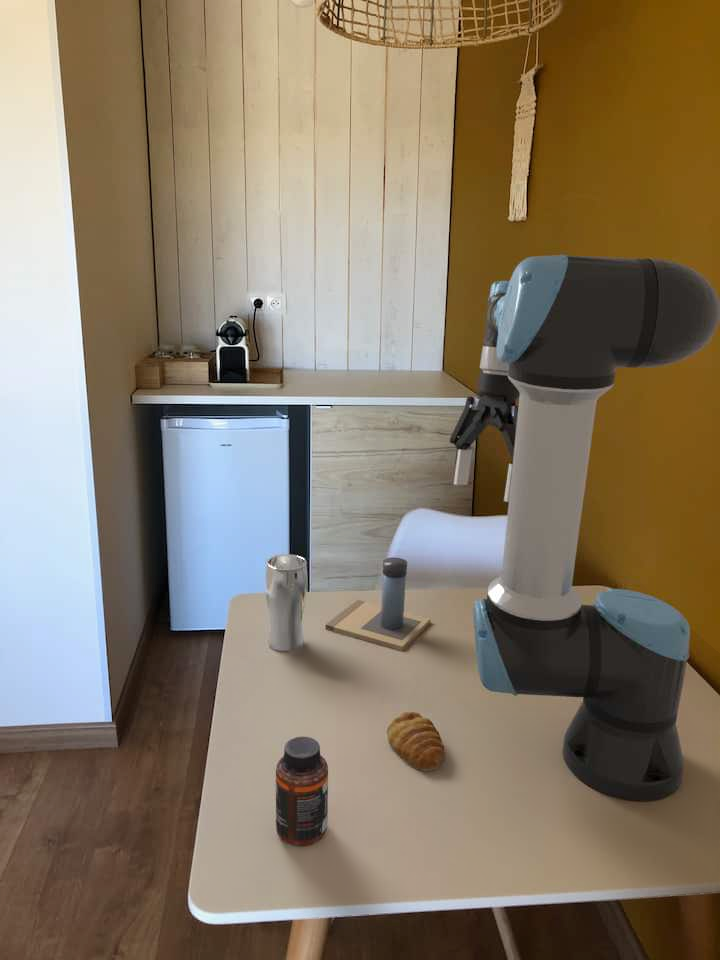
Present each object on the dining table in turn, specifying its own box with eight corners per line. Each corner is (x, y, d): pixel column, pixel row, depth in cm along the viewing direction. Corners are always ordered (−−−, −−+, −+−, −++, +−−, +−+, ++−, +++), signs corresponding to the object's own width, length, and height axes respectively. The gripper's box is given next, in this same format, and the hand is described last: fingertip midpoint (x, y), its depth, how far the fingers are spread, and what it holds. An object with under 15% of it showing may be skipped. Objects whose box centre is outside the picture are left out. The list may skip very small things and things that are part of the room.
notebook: (401, 650, 130) (402, 646, 130) (325, 628, 137) (325, 624, 137) (430, 622, 141) (430, 618, 140) (357, 603, 147) (357, 599, 147)
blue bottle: (397, 632, 135) (400, 568, 131) (375, 626, 137) (378, 563, 133) (407, 622, 138) (411, 560, 135) (386, 617, 140) (389, 555, 137)
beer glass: (268, 655, 128) (268, 571, 123) (263, 635, 134) (262, 555, 130) (310, 651, 129) (311, 568, 125) (303, 632, 136) (303, 552, 131)
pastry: (457, 767, 102) (459, 743, 101) (411, 780, 99) (413, 755, 98) (423, 728, 110) (425, 704, 109) (380, 738, 107) (381, 714, 106)
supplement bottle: (338, 831, 90) (340, 747, 86) (299, 858, 86) (300, 771, 82) (303, 805, 94) (304, 724, 90) (265, 829, 90) (264, 745, 86)
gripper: (570, 382, 126) (550, 508, 130) (471, 368, 147) (456, 478, 151) (537, 379, 122) (518, 509, 126) (440, 365, 143) (426, 478, 147)
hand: (484, 492), depth 138 cm, fingers open, 13 cm apart
